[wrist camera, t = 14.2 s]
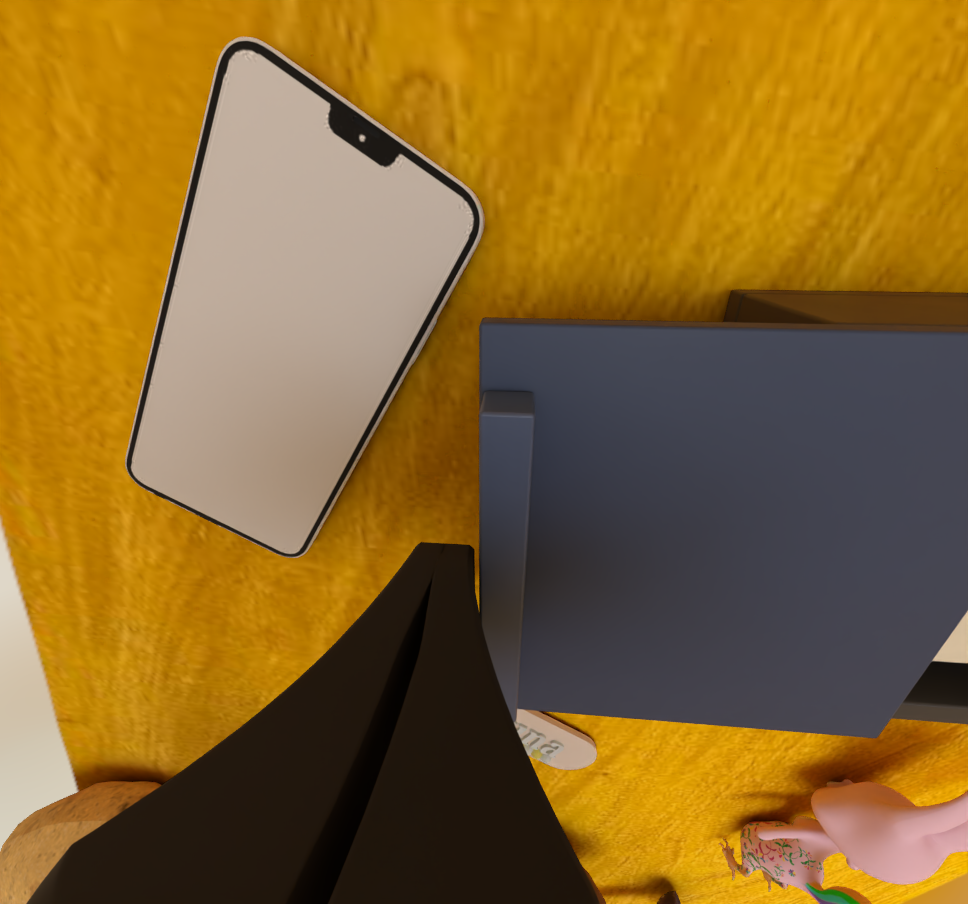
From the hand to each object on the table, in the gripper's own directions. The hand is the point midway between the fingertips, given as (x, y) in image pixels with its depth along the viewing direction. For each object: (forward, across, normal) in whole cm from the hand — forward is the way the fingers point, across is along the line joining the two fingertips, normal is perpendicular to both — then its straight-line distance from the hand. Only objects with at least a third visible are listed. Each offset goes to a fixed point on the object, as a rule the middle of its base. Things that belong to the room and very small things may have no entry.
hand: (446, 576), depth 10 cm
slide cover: (+1, -6, 0) cm, 7 cm away
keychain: (+6, -2, +15) cm, 16 cm away
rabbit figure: (+6, -19, +19) cm, 27 cm away
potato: (0, +24, +27) cm, 36 cm away
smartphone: (+6, +6, -3) cm, 9 cm away
